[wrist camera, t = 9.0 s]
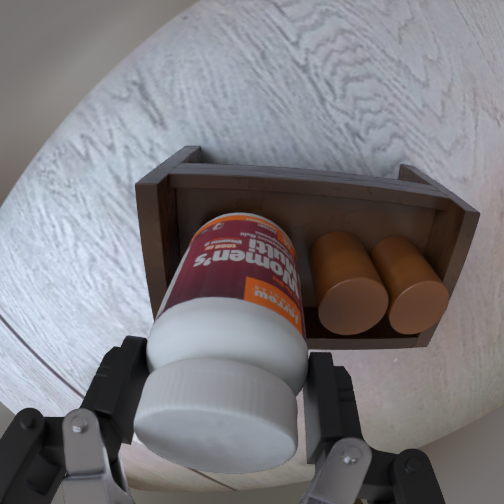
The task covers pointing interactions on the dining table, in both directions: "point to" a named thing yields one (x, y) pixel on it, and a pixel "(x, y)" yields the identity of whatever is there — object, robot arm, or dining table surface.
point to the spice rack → (323, 241)
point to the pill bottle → (227, 352)
